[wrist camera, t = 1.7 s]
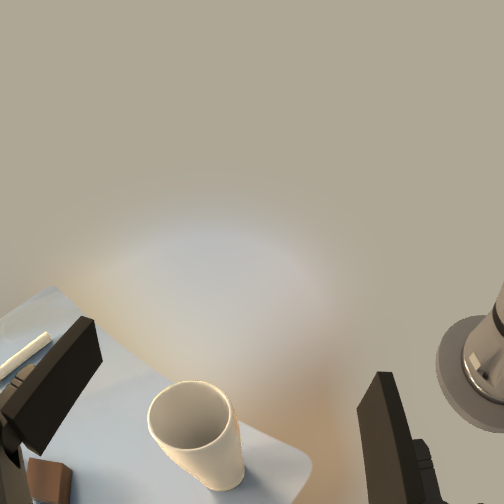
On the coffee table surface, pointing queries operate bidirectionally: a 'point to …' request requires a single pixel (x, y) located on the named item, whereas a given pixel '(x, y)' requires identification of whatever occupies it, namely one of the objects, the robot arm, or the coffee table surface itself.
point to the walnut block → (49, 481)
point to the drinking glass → (199, 433)
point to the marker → (24, 354)
